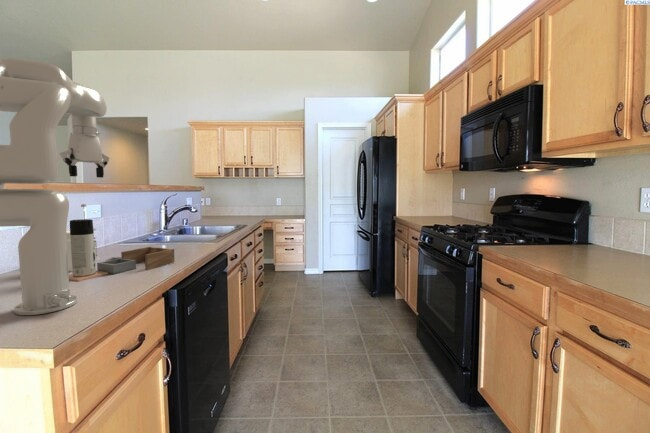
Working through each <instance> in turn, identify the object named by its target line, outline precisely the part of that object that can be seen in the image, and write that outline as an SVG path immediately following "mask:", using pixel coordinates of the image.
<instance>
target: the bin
mask: <svg viewBox="0 0 650 433" xmlns="http://www.w3.org/2000/svg"><path fill="white" fill-rule="evenodd" d="M96 268H97V269H96V271H101V272H108V274H107V275H117V274H120V273H125V272H128V271H133V270H136V269H137V264H136V260H130V259H122V258H118V259H114V260H109V261H106V260H105V261H100V262H97V263H96Z"/></svg>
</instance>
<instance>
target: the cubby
mask: <svg viewBox="0 0 650 433" xmlns="http://www.w3.org/2000/svg"><path fill="white" fill-rule="evenodd" d="M120 254H121V256H120V257H122V259H130V260H136V265H138V264H140V263H145V270H146V271H149V270H152V269H156V268H161V267H164V266H168V265H171V264H170V263H172V264H174V262H175V248H167V247H156V246H146V247H141V248H135V249H131V250H130V249H129V250H124V251H121V253H120ZM167 264H168V265H167Z"/></svg>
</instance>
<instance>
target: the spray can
mask: <svg viewBox="0 0 650 433" xmlns="http://www.w3.org/2000/svg"><path fill="white" fill-rule="evenodd" d="M93 227H94V223H93V219H90V218H89V219H86V218H85V219H84V218H82V219H71V220H69V230H70V239H71V255H72V270H73V271H72V274H73V276H76V277H82V276H89V275H92V274H95V272H96V271H97V269H96V268H97V266H96V261H95V249H94V241H95V239H94V237H95V233H94V231H93Z"/></svg>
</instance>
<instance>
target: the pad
mask: <svg viewBox="0 0 650 433" xmlns="http://www.w3.org/2000/svg"><path fill="white" fill-rule="evenodd" d="M105 275H109V274H108V272H101V271H97V270H96V272H95V274H92V275H89V276H82V277H76V276H73V273H69V281H74V282H81V281H85V280H90V279H94V278H98V277H101V276H105Z"/></svg>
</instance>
